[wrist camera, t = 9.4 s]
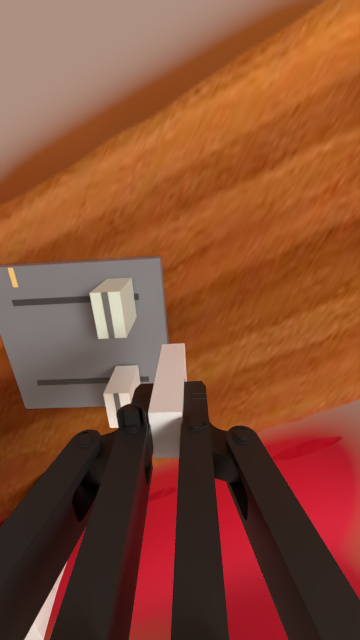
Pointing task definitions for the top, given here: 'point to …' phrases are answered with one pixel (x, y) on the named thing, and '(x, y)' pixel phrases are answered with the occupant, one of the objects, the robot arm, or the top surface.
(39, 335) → the console
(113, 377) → the block
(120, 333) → the fader
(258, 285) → the top surface
